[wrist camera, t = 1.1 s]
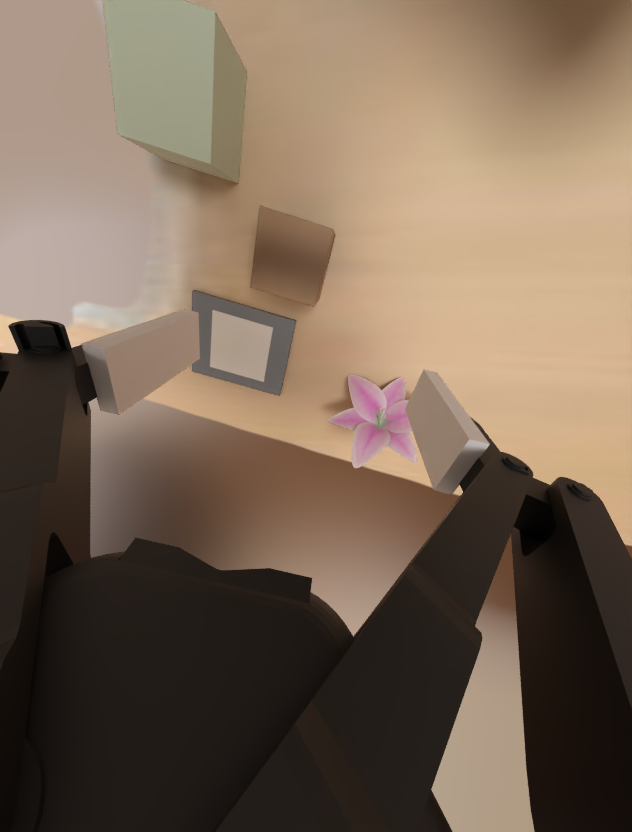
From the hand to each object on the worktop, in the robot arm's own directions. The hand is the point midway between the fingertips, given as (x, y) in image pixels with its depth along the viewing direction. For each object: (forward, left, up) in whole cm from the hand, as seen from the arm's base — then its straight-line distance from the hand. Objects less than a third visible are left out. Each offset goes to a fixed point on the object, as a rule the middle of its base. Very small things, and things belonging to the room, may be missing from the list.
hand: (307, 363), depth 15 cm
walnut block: (-4, -4, -17) cm, 18 cm away
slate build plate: (+7, -9, -17) cm, 20 cm away
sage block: (-12, -15, -17) cm, 26 cm away
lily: (+9, +10, -17) cm, 22 cm away
